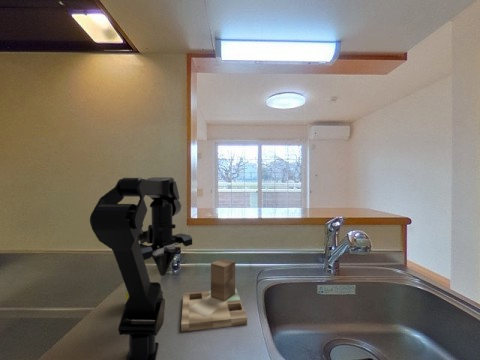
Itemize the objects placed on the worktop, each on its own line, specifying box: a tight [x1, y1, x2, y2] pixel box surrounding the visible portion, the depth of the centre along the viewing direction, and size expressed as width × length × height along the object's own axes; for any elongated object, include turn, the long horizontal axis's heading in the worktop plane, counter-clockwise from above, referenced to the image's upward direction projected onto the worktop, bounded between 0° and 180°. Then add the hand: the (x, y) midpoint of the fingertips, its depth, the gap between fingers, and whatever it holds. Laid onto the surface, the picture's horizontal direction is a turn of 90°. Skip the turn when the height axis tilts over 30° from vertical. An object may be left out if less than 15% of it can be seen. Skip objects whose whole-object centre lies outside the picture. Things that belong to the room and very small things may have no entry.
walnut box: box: [210, 257, 236, 301], centre depth 84 cm, size 6×6×11 cm
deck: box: [180, 288, 248, 333], centre depth 78 cm, size 18×18×2 cm
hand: (162, 275), depth 73 cm, fingers closed
